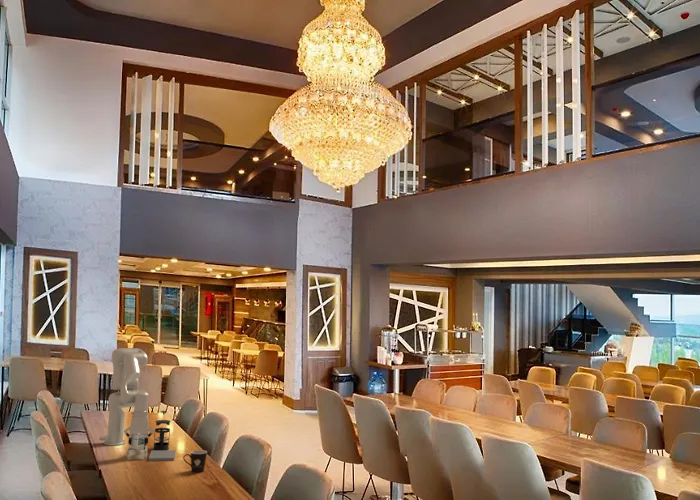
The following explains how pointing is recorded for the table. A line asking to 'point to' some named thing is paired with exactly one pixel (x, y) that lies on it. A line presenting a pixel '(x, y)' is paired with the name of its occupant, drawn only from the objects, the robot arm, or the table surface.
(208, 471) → the table surface
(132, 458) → the frame
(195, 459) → the coffee mug
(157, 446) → the french press
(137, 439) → the syrup box
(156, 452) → the slate board
